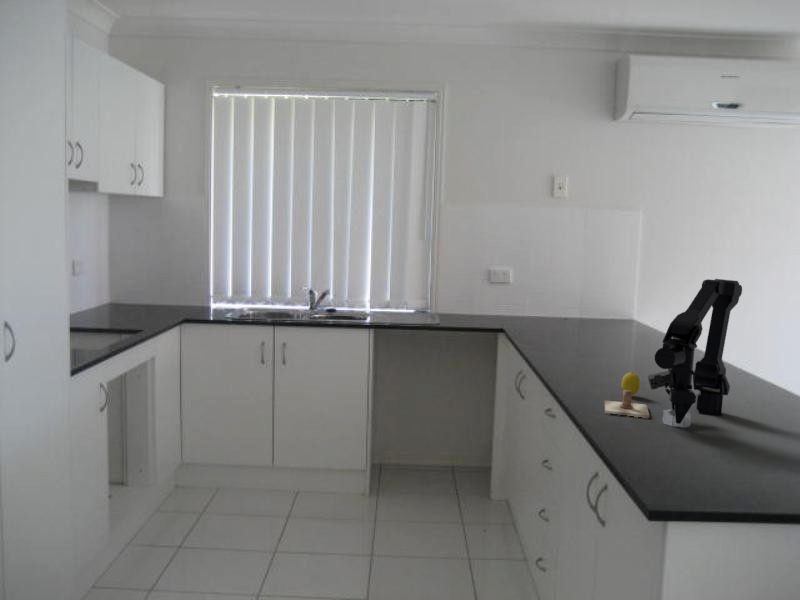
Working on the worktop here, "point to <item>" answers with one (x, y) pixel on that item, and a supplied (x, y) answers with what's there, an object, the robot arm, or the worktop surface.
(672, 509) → the worktop surface
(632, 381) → the lemon
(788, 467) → the worktop surface
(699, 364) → the robot arm
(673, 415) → the ring
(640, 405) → the post stand
